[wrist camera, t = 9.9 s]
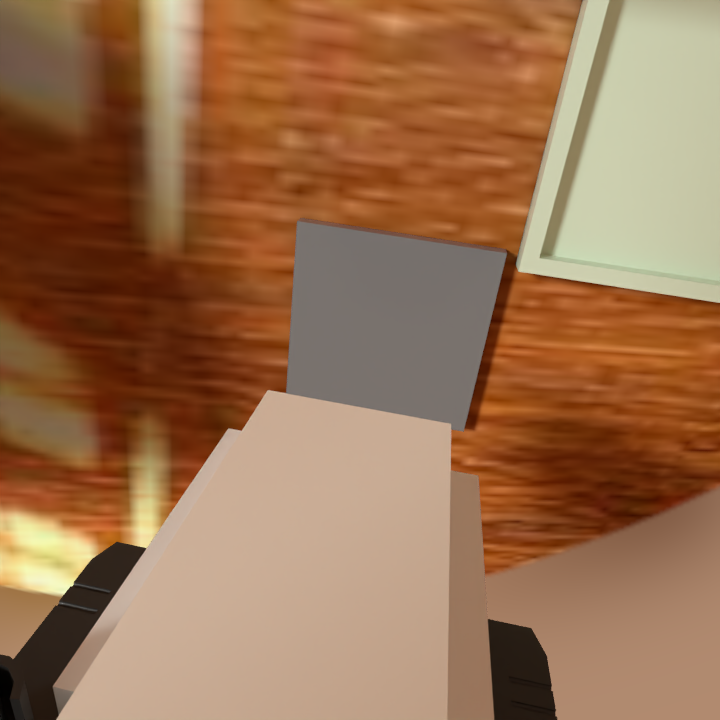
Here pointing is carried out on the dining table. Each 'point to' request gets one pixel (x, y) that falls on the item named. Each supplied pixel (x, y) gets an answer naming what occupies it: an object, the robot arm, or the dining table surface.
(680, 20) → the green tray
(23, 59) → the dining table surface
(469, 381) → the slate coaster
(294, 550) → the cream square pillar
